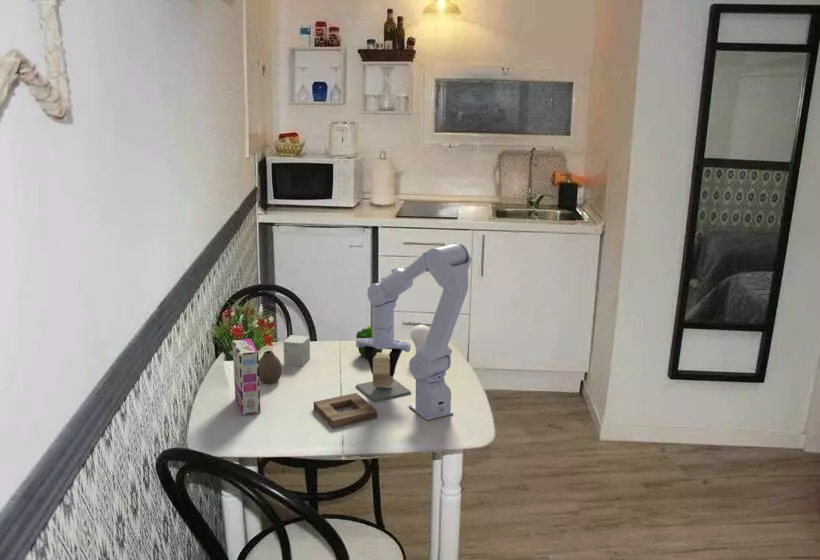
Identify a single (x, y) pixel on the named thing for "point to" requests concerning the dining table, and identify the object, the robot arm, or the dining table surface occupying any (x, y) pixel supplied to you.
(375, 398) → the mat
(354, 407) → the holder
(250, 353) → the candy bar box
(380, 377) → the peg
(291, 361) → the product box
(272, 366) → the vase
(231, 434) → the dining table surface
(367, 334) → the bell pepper
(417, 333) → the lightbulb
